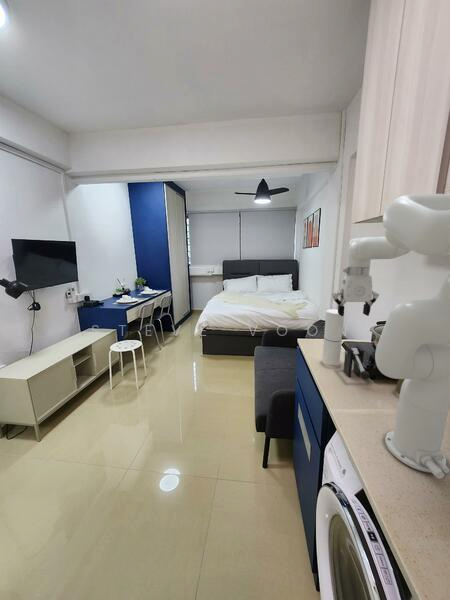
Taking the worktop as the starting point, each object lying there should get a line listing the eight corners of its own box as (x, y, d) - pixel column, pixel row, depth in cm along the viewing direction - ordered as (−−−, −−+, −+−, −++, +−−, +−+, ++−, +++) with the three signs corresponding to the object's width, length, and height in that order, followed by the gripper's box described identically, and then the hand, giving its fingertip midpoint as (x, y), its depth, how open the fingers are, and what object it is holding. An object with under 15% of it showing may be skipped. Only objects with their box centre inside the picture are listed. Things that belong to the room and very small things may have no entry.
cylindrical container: (323, 367, 106) (327, 313, 101) (320, 360, 113) (324, 308, 107) (340, 369, 105) (346, 314, 99) (337, 361, 112) (342, 309, 106)
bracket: (369, 384, 93) (373, 353, 91) (346, 384, 94) (349, 354, 91) (356, 370, 103) (359, 343, 100) (335, 371, 104) (337, 343, 101)
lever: (369, 381, 89) (372, 377, 86) (360, 381, 89) (363, 377, 86) (355, 351, 98) (358, 347, 96) (347, 351, 98) (350, 347, 96)
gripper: (339, 273, 88) (335, 318, 92) (387, 272, 87) (381, 317, 91) (330, 270, 95) (327, 312, 99) (375, 270, 95) (370, 312, 98)
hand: (353, 314), depth 95 cm, fingers open, 9 cm apart
